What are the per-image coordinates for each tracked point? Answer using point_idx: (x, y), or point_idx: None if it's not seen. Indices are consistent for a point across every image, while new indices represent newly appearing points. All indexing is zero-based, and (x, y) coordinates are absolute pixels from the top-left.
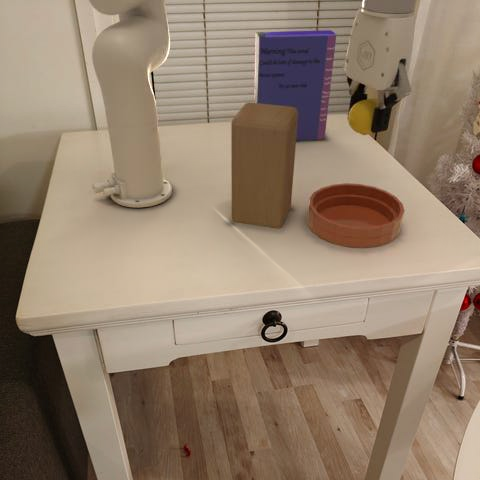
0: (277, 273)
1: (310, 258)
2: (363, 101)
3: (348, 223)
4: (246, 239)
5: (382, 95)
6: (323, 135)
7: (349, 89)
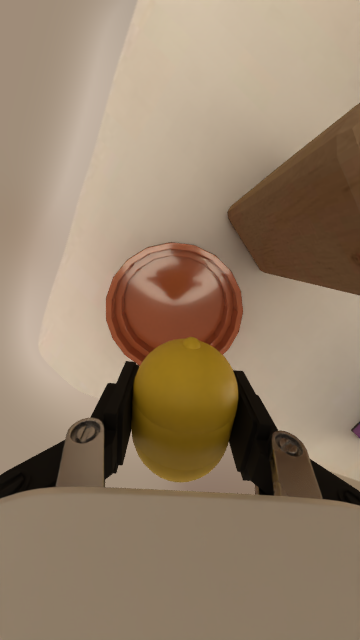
0: (141, 123)
1: (145, 198)
2: (195, 423)
3: (177, 302)
4: (240, 149)
5: (65, 475)
6: (357, 433)
7: (304, 450)
